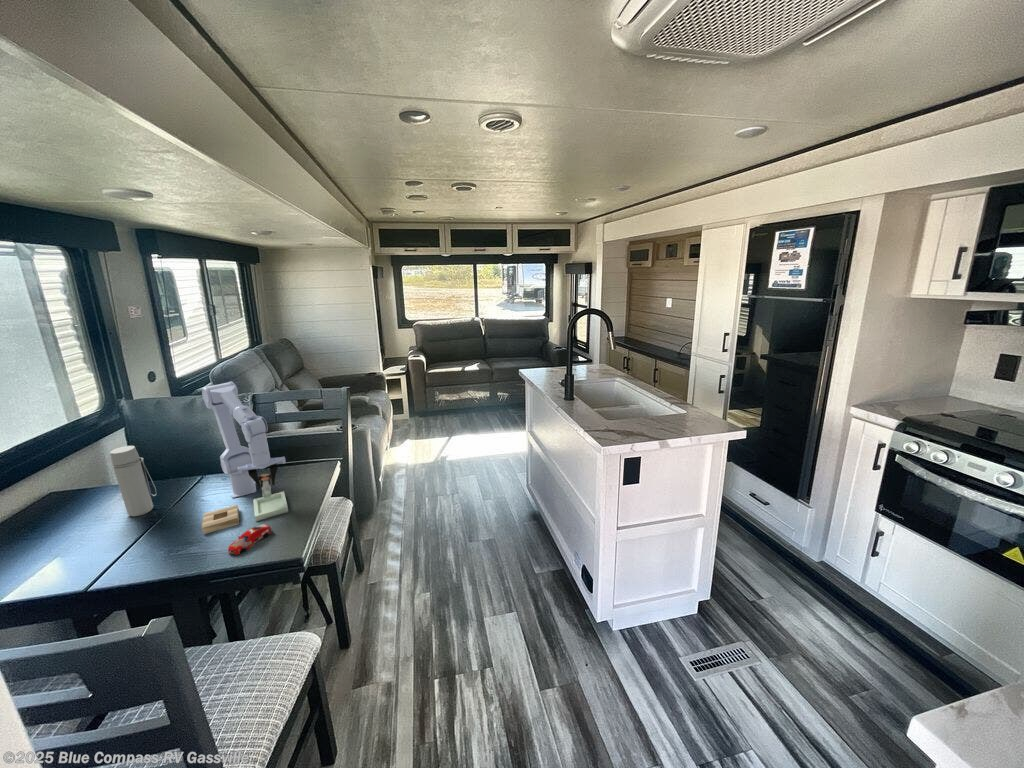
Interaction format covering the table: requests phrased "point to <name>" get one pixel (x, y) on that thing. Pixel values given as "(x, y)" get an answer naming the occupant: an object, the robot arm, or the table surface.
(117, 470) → the water bottle
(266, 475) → the pin
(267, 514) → the tray
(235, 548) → the race car
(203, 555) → the table surface
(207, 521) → the socket block
